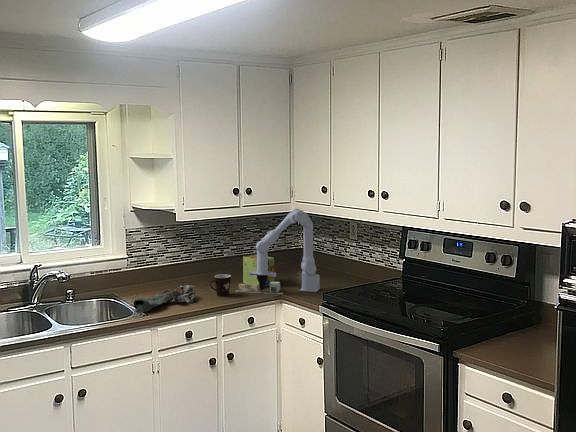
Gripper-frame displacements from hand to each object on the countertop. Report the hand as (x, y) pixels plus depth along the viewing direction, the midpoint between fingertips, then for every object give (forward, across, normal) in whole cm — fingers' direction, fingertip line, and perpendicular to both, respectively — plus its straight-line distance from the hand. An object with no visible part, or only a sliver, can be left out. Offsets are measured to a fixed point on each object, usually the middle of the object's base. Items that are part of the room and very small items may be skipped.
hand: (262, 289), depth 329 cm
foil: (+2, -33, -25) cm, 41 cm away
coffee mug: (+2, -20, -10) cm, 22 cm away
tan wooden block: (+2, -7, 0) cm, 8 cm away
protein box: (+2, -8, +18) cm, 20 cm away
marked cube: (+2, +5, +6) cm, 8 cm away
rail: (+2, -2, 0) cm, 3 cm away
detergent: (+2, -42, -38) cm, 57 cm away
